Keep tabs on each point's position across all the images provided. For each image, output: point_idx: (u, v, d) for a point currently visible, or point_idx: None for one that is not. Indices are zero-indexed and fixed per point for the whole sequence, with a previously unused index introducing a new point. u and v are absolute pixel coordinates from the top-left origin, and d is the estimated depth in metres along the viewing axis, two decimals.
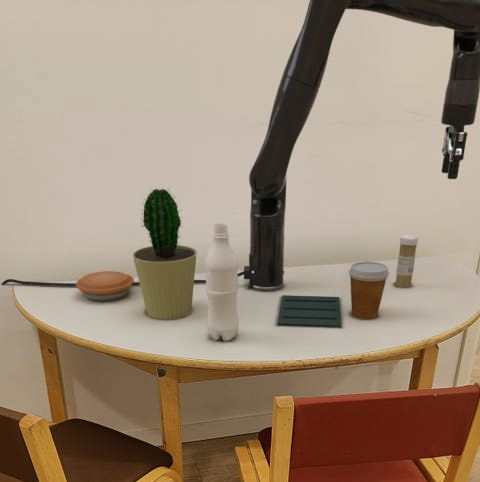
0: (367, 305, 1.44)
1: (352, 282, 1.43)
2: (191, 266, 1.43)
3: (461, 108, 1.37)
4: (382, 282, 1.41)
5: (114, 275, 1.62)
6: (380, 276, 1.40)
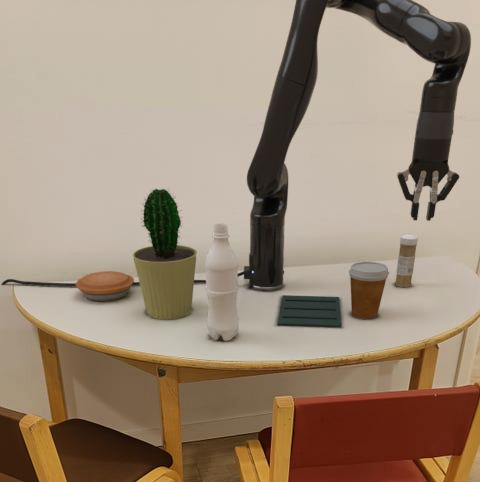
0: (367, 305, 1.44)
1: (352, 282, 1.43)
2: (191, 266, 1.43)
3: (414, 141, 1.28)
4: (382, 282, 1.41)
5: (114, 275, 1.62)
6: (380, 276, 1.40)
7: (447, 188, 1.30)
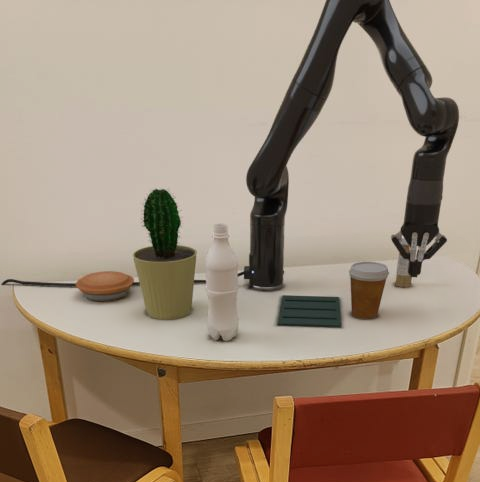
0: (367, 305, 1.44)
1: (352, 282, 1.43)
2: (191, 266, 1.43)
3: None
4: (382, 282, 1.41)
5: (114, 275, 1.62)
6: (380, 276, 1.40)
7: (434, 249, 1.38)
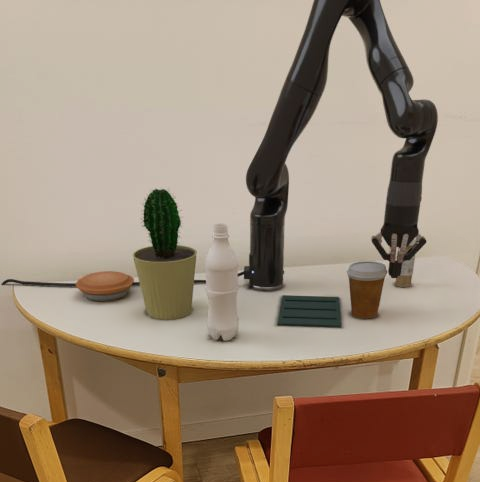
0: (367, 304, 1.44)
1: (350, 282, 1.43)
2: (191, 266, 1.43)
3: None
4: (380, 281, 1.41)
5: (114, 275, 1.62)
6: (378, 275, 1.39)
7: (413, 250, 1.38)
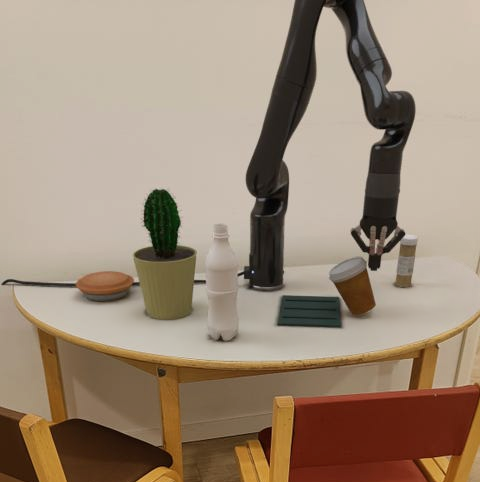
0: (359, 300, 1.43)
1: (336, 286, 1.44)
2: (191, 266, 1.43)
3: (364, 198, 1.35)
4: (363, 273, 1.41)
5: (114, 275, 1.62)
6: (357, 269, 1.39)
7: (393, 242, 1.38)
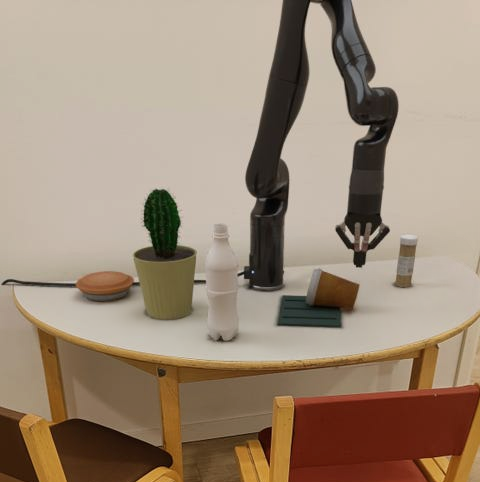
0: (343, 287, 1.47)
1: (319, 300, 1.48)
2: (191, 266, 1.43)
3: None
4: (324, 272, 1.48)
5: (114, 275, 1.62)
6: (317, 272, 1.47)
7: (377, 239, 1.38)
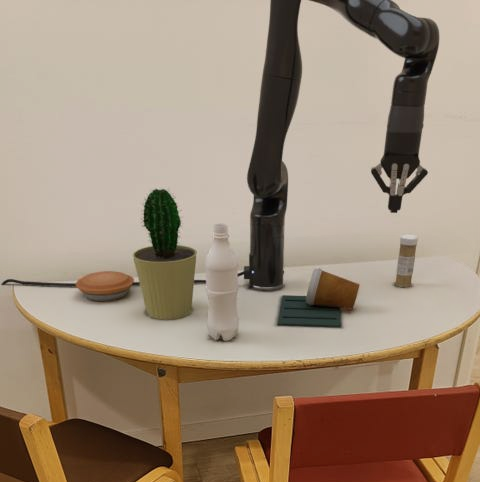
0: (343, 287, 1.47)
1: (319, 300, 1.48)
2: (191, 266, 1.43)
3: (386, 134, 1.31)
4: (324, 272, 1.48)
5: (114, 275, 1.62)
6: (317, 272, 1.47)
7: (414, 182, 1.34)
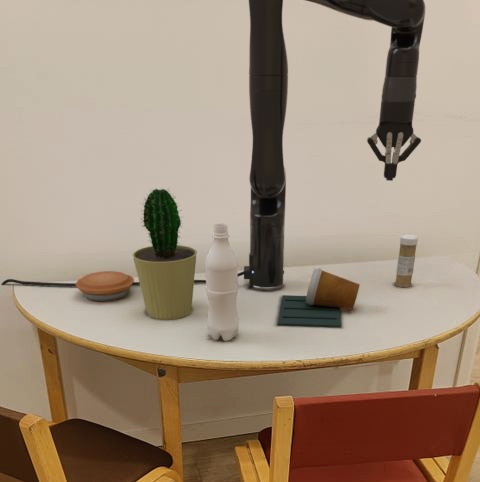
0: (343, 287, 1.47)
1: (319, 300, 1.48)
2: (191, 266, 1.43)
3: None
4: (324, 272, 1.48)
5: (114, 275, 1.62)
6: (317, 272, 1.47)
7: (408, 150, 1.41)
